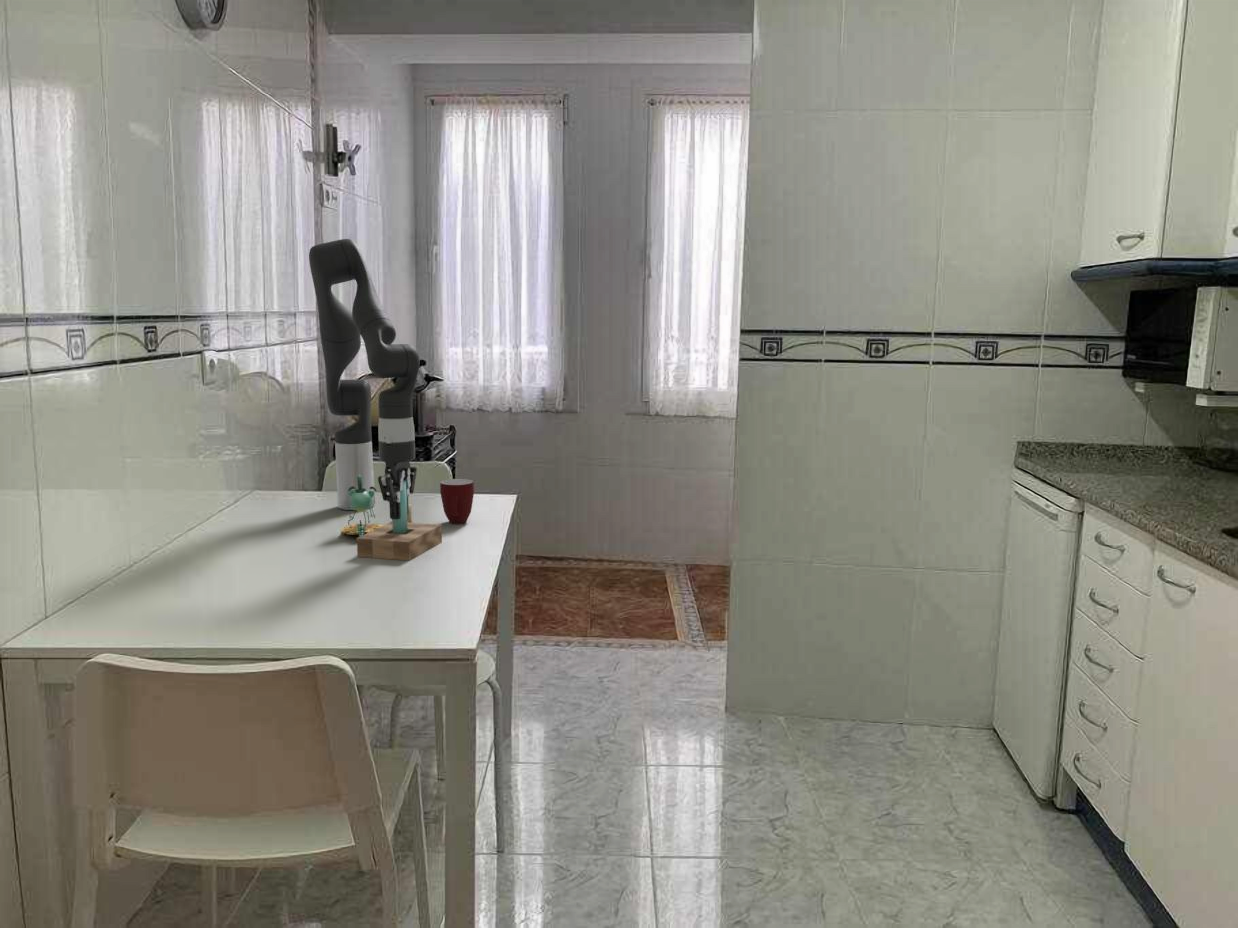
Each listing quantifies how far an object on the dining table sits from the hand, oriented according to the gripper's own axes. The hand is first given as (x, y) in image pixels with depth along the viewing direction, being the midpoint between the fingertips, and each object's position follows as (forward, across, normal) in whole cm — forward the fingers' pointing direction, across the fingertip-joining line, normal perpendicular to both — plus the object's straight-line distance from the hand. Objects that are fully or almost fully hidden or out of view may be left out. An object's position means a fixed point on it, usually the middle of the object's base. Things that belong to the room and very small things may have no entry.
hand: (399, 516), depth 210 cm
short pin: (+7, -12, -5) cm, 15 cm away
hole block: (+7, 0, 0) cm, 7 cm away
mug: (+7, -26, +2) cm, 27 cm away
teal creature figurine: (+8, -10, -15) cm, 20 cm away
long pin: (+5, 0, 0) cm, 5 cm away
